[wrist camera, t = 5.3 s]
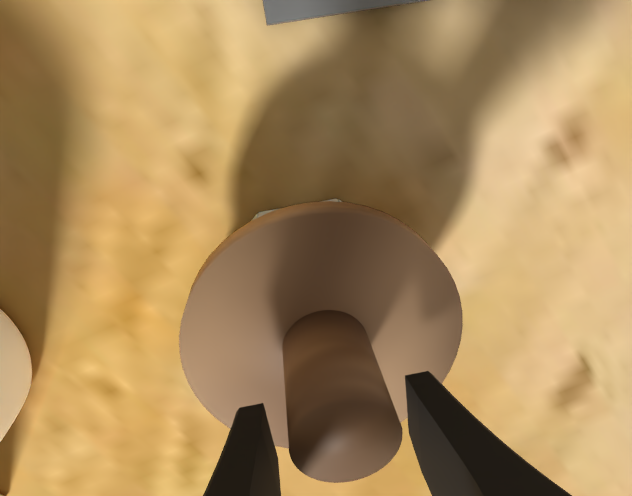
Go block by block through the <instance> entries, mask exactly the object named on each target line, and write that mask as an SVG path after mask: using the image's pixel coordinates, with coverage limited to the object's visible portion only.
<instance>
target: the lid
mask: <svg viewBox="0 0 632 496" xmlns="http://www.w3.org/2000/svg"><path fill="white" fill-rule="evenodd" d="M461 333H462V308H461V302H460V296H459V293H458V291H457V288H456V285H455V282H454V280H453V278H452V276H451V274H450V273H449V271H448V269H447V267H446V266H445V265H444V263H443V262H442V261H441V260H440V258H439V257H438V256H437V254H436V253H435V252H434V251H433V250H432V249H431V248H430V246H429V245H428V244H427V243H426V242H425V241H424V240H423V239H422V238H421V237H420V236H419V235H418V234H417V233H416V232H415V231H414V230H413V229H411V228H410V227H408V226H407V225H406V224H404V223H403V222H401V221H400V220H398V219H396V218H394V217H392V216H390V215H388V214H386V213H384V212H382V211H379V210H376V209H373V208H370V207H367V206H363V205H358V204H353V203H348V202H334V201H322V202H308V203H302V204H297V205H292V206H287V207H284V208H281V209H278V210H275V211H272V212H269V213H267V214H265V215H263V216H260V217H258V218H256V219H254V220H252V221H250V222H249V223H247V224H246V225H244V226H242V227H241V228H239V229H238V230H236V231H235V232H234V233H232V234H231V235H230V236H229V237H228V238H226V239H225V240H224V241H223V242H222V243H221V244H220V245H219V246H218V247H217V248H216V249H215V250H214V251H213V252H212V254H211V255H210V256H209V257H208V259H207V260H206V262H205V263H204V264H203V266H202V267H201V269H200V270H199V272H198V274H197V276H196V279H195V281H194V283H193V285H192V287H191V291H190V294H189V297H188V300H187V304H186V307H185V310H184V313H183V317H182V320H181V327H180V334H179V347H180V357H181V362H182V367H183V370H184V373H185V376H186V378H187V381H188V383H189V385H190V387H191V389H192V390H193V392H194V394H195V396H196V397H197V398H198V399H199V401H200V402H201V403H202V405H203V406H204V407H205V408H206V409H207V410H208V411H209V412H210V413H211V414H212V415H213V416H214V417H215V418H216V419H218V420H219V421H220V422H222V423H223V424H224V425H226V426H227V427H229V428H230V429H231V427H232V424H233V421H234V418H235V414H236V412H237V410H238V409H239V408H240V407H245V406H250V405H256V404H261V403H263V404H264V407H265V411H266V415H267V419H268V423H269V426H270V430H271V434H272V438H273V442H274V446H279V447H284V448H289V453H290V457H291V459H292V461H293V463H294V464H295V466H296V467H297V468H298V469H299V470H300V471H301V472H303V473H304V474H305V475H307V476H309V477H311V478H314V479H316V480H320V481H325V482H334V483H338V482H349V481H354V480H358V479H361V478H364V477H367V476H369V475H371V474H373V473H375V472H377V471H378V470H380V469H382V468H383V467H384V466H385V465H387V464H388V463H389V462H390V461H391V460H392V458H393V457H394V456H395V455H396V453H397V451H398V450H399V447H400V445H401V441H402V427H401V423H400V422H402V421H403V420H405V419H406V418H408V413H407V399H406V385H405V375H410V374H415V373H420V372H425V371H429V372H430V373H432V374H433V375H434V376H435V378H436V379H437V380H438V381H439V382H440V383H441V384H442V382H443V381H444V379H445V377H446V376H447V374H448V373H449V371H450V369H451V367H452V364H453V362H454V360H455V358H456V355H457V352H458V348H459V345H460V341H461Z"/></svg>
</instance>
